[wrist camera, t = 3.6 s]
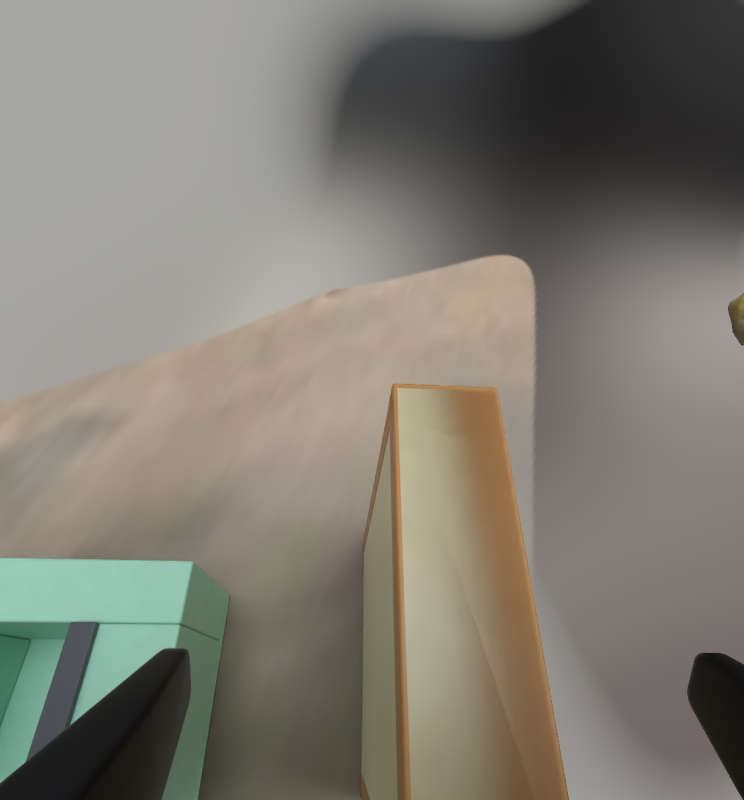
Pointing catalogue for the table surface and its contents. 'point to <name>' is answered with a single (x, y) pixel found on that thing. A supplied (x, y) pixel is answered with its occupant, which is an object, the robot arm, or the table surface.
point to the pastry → (737, 317)
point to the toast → (451, 613)
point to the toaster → (102, 647)
